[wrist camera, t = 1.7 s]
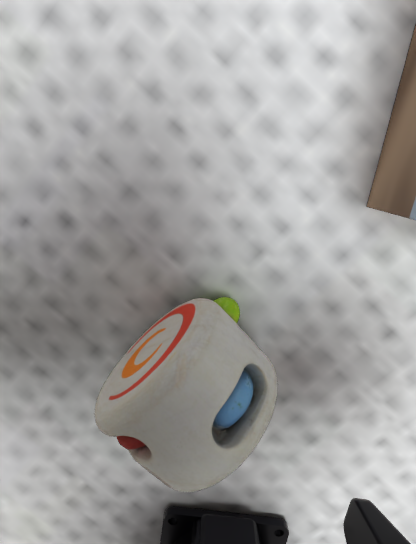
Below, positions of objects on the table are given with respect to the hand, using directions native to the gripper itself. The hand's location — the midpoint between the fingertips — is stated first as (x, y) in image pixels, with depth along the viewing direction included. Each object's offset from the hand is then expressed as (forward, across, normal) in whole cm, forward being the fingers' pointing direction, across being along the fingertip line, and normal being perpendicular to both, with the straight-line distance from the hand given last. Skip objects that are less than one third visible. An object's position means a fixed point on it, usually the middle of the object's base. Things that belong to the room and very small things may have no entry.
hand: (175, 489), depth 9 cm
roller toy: (+7, 0, 0) cm, 7 cm away
